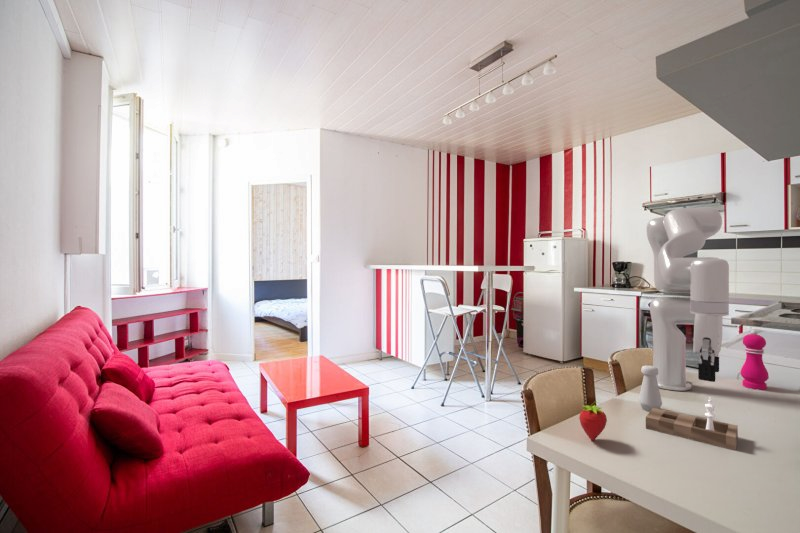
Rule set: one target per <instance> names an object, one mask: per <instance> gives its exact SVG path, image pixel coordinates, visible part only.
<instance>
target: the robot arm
mask: <svg viewBox="0 0 800 533" xmlns="http://www.w3.org/2000/svg"><path fill="white" fill-rule="evenodd" d="M722 224H723V218H722V214H721V213H720V211H719V210H718V209H717V208H715V207H713V206H699V207H697V206H695V207H680V208H675V209H672V210H669V211H668V212H667V213H666V214H665V215H664V216H661V217H656V218H652V219H651V220H649V221H648V223H647V225H646V235H647V236H646V238H647V240H648V243H649V245H650V247H651V250H652V252H653V253H652V254H653V282H654V286H655V289H656V290H657V292H658V291H659V292H660V293H666V294H667V293H668V294H690V296H688V297H687V296H686V297H685V296H659V297H655V298H653V299H651V301H650V302H649V312H650V318H651V325H652V357H653V358H652V363H653V364H652V366H654V367H656V368H657V369H658V371H659V372H658V375H656V378H657V382H658V387H659V389H664V390H669V391H680V392H683V391H690V390H691V389H692V384H691V383H690V382H687V381H686V380H687V377H686V376H687V375H686V374H687V373H686V370H687V369H686V368H687V366H686V364H687V363H686V361H687V360H686V359H687V358H686V357H687V354H686V342H687V341H686V336H685V334H684V332H682V331H681V329H679V327H678V326H677V325H690V326H691V325H692V326H693V346H692V347H693V350H692V352H693V353H694V354H696V355H697V354H698V353H699V357H698V358H699V360H698V364H697V366H698V372H697V373H698V375H697V376H698V377H697V378H698V380H700V381H705V382H706V381H707V382H712V383H714V382H716V373H719V372H720V356H719V354H720V352H721V349H722V348H721V347H722V342H723V317H726V316H727V317H728V316H729V315H730V314H729V312H730V310H729V309H730V303H729V302H730V297H729V296H730V284H729V283H730V281H729V280H730V266H729V262H728V261H727V260H726V259H724V258H719V257H711V256H710V257H704V256H703V257H693V256H692V257H686V256H689V255H692V254H694V253H697V252H699V251H700V250H701V249H702V248H703V247H704V245H705V244H706V240H708V239H710V237H713V236H715V235H716V234H718V233H719V232H720V230H721V228H722Z"/></svg>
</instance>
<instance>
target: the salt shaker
mask: <svg viewBox="0 0 800 533" xmlns="http://www.w3.org/2000/svg"><path fill="white" fill-rule="evenodd" d="M640 371H641V373H642V375H643V379H642V383H641V388H640V392H639V398H638V402H639V404H640V406H641V408H642V410H643V411H646V412H648V413H649V412H650V411H651V410H652V408H657V409H661V407H662V405H663V401H662V397H661V396H662V395H661V392H660V388H659V387H658V382H657V378H656V375H658V372H659V371H658V369H657V368H656V367H654V366H653V365H650V364H649V365H642V366H641V369H640Z"/></svg>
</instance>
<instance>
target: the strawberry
mask: <svg viewBox="0 0 800 533" xmlns="http://www.w3.org/2000/svg"><path fill="white" fill-rule="evenodd" d="M595 403H596V401H593V404H594V405H589V404H588V405H582V407H583V408H582V409H581V411H580V413H579V417H578V419H579V422H580V426H581V428H582V430H583V431H584V433H585V435H587V437H588V438H589V439H590V440H591V441H596V439H597V438H598V436H600V434H602V432H603V431H604V430H605V428H606V426H607V422H608V420H607V415H606V413H605V412H604V411H603V410H601V409H602V407H599V406H596V404H595Z"/></svg>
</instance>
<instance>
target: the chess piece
mask: <svg viewBox="0 0 800 533" xmlns="http://www.w3.org/2000/svg"><path fill="white" fill-rule="evenodd" d="M712 402H713V399H712V397H710V396H709V397H708V400H707V403H705V404H704V408H705V409H706V412H705V413H704V415H705V416H706V417H707V418H706V419H707V425H706V429H707V430H712V431H714V426H713V418H716V414H714V411H715V408H716V406H715V405H714V404H712Z"/></svg>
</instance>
